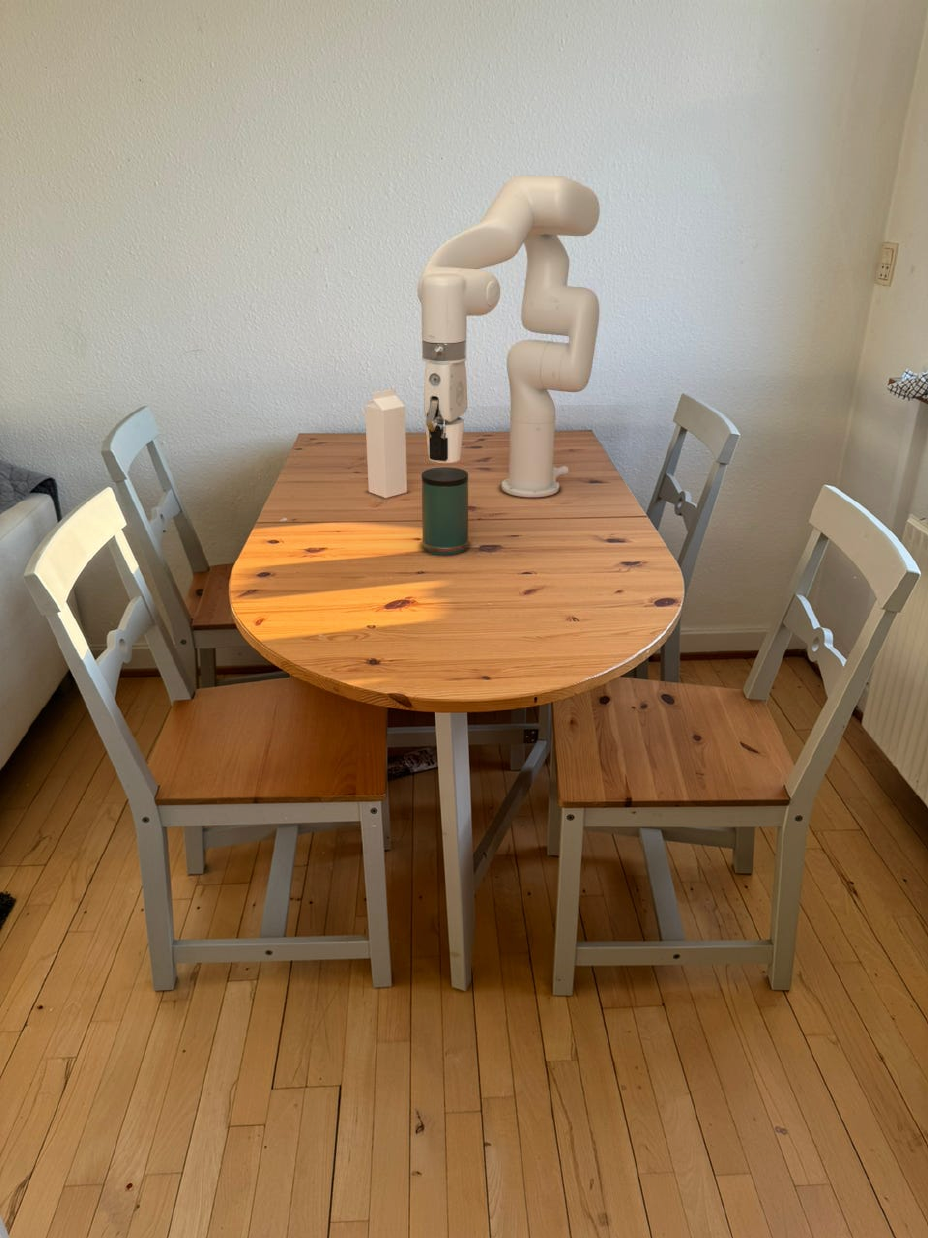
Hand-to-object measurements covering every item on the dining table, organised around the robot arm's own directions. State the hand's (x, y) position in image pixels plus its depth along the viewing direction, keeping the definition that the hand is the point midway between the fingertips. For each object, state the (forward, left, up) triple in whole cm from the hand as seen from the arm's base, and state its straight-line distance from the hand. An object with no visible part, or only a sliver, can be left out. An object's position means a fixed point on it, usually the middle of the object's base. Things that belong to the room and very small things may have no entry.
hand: (444, 453), depth 168 cm
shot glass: (0, 0, -1) cm, 1 cm away
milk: (-9, -33, -18) cm, 39 cm away
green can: (0, 0, -18) cm, 18 cm away
